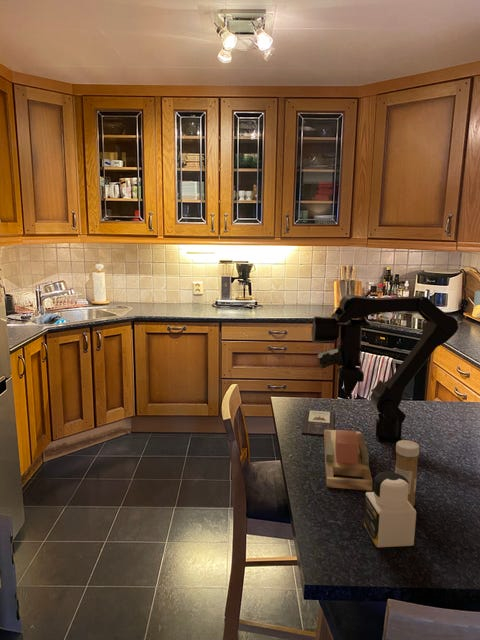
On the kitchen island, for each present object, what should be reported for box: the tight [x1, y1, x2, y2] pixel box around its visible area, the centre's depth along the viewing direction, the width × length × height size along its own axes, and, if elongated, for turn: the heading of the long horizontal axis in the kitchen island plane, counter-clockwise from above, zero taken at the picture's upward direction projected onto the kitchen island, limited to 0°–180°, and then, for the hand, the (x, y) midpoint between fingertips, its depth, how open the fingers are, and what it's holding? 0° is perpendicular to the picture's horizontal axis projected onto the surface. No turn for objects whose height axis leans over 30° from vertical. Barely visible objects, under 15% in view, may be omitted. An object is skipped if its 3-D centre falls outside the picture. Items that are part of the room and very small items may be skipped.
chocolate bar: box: [301, 409, 335, 437], centre depth 144 cm, size 9×1×18 cm
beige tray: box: [323, 429, 374, 492], centre depth 120 cm, size 10×28×4 cm, turn 171°
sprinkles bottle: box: [394, 439, 420, 507], centre depth 100 cm, size 5×5×14 cm
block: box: [335, 429, 359, 464], centre depth 118 cm, size 5×8×5 cm, turn 171°
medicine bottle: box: [363, 471, 417, 548], centre depth 89 cm, size 7×7×12 cm
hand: (347, 396), depth 132 cm, fingers closed
